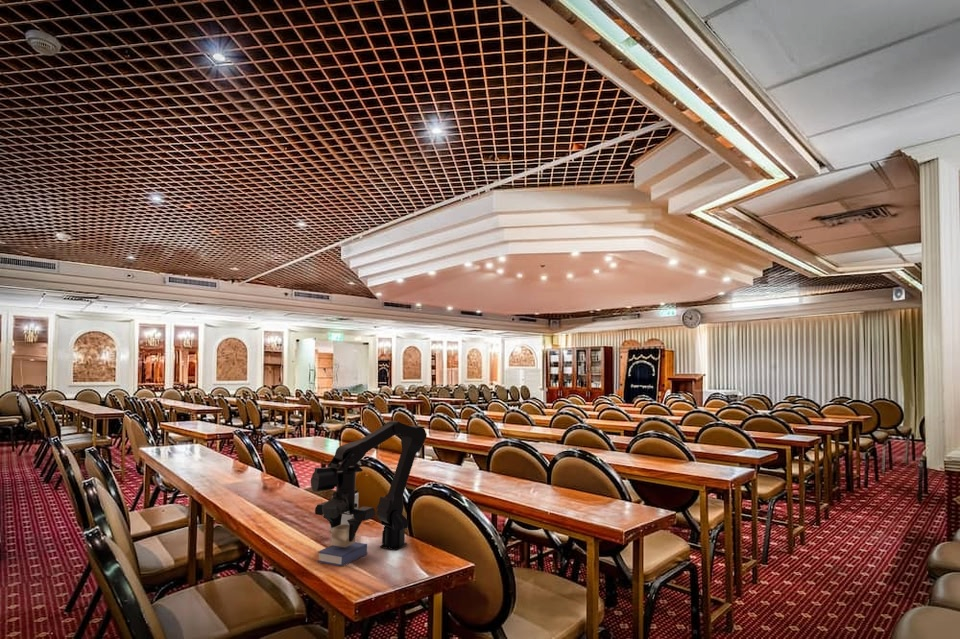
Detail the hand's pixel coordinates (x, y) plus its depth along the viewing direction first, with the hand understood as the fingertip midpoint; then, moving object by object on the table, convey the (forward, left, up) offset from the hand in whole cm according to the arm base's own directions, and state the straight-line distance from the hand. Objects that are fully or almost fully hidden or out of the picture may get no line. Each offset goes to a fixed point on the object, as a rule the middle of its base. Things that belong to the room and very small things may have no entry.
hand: (343, 540), depth 157 cm
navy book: (0, 0, -5) cm, 5 cm away
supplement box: (+18, -24, -5) cm, 30 cm away
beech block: (0, 0, -1) cm, 1 cm away
